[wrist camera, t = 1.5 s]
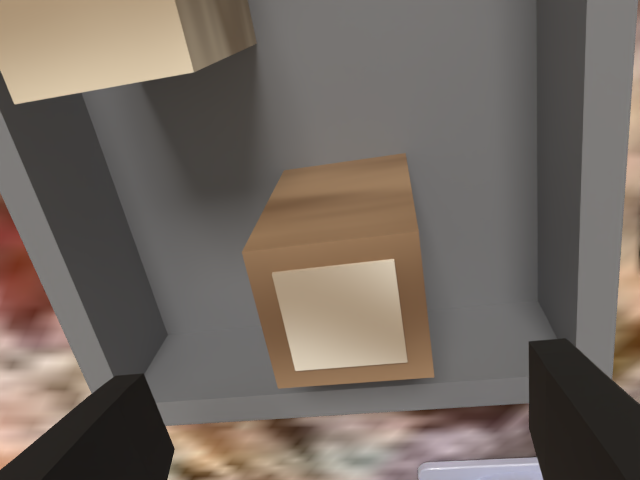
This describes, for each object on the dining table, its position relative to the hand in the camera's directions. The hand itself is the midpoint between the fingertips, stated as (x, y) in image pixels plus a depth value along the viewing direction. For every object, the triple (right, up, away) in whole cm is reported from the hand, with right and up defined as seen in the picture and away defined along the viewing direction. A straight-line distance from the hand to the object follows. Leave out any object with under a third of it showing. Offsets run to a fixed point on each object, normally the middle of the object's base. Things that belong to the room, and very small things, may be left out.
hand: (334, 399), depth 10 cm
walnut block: (+1, +4, +8) cm, 9 cm away
